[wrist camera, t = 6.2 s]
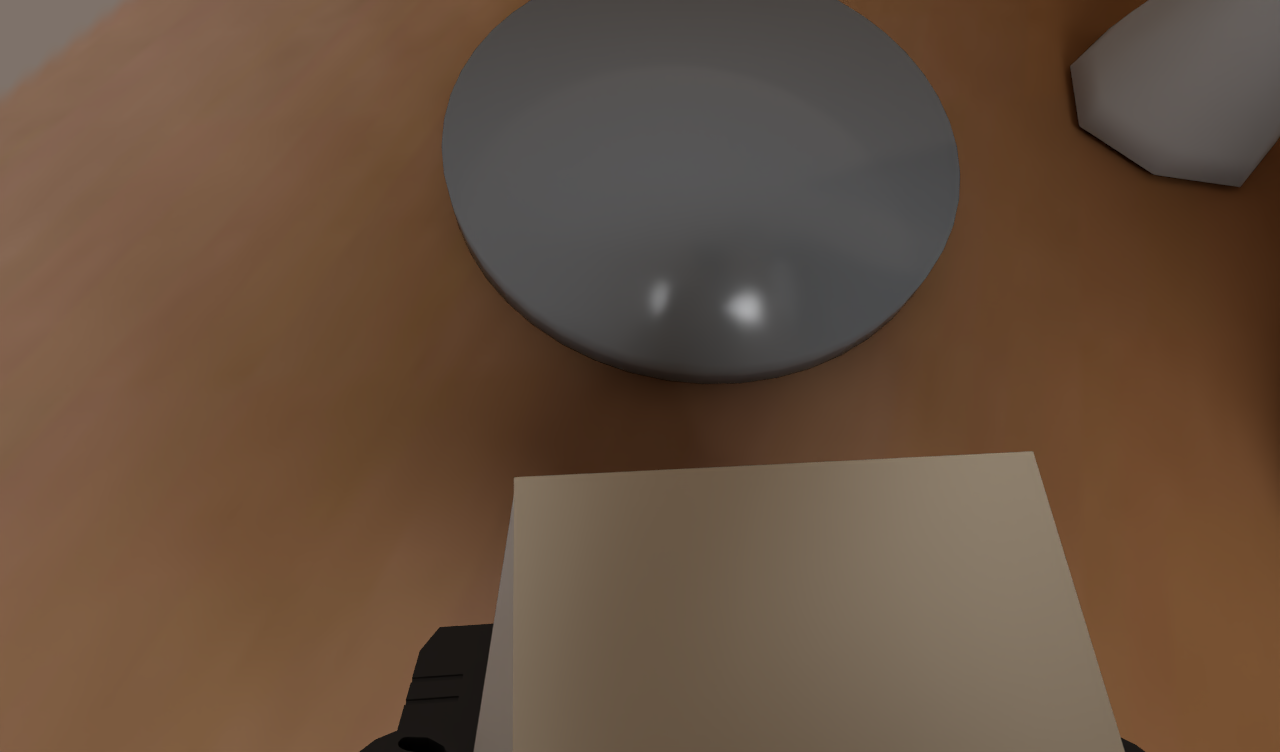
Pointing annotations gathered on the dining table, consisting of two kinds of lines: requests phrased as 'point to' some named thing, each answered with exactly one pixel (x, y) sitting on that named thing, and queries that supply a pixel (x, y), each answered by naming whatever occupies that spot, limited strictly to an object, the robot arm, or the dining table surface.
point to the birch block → (801, 611)
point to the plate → (700, 180)
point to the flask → (1186, 87)
